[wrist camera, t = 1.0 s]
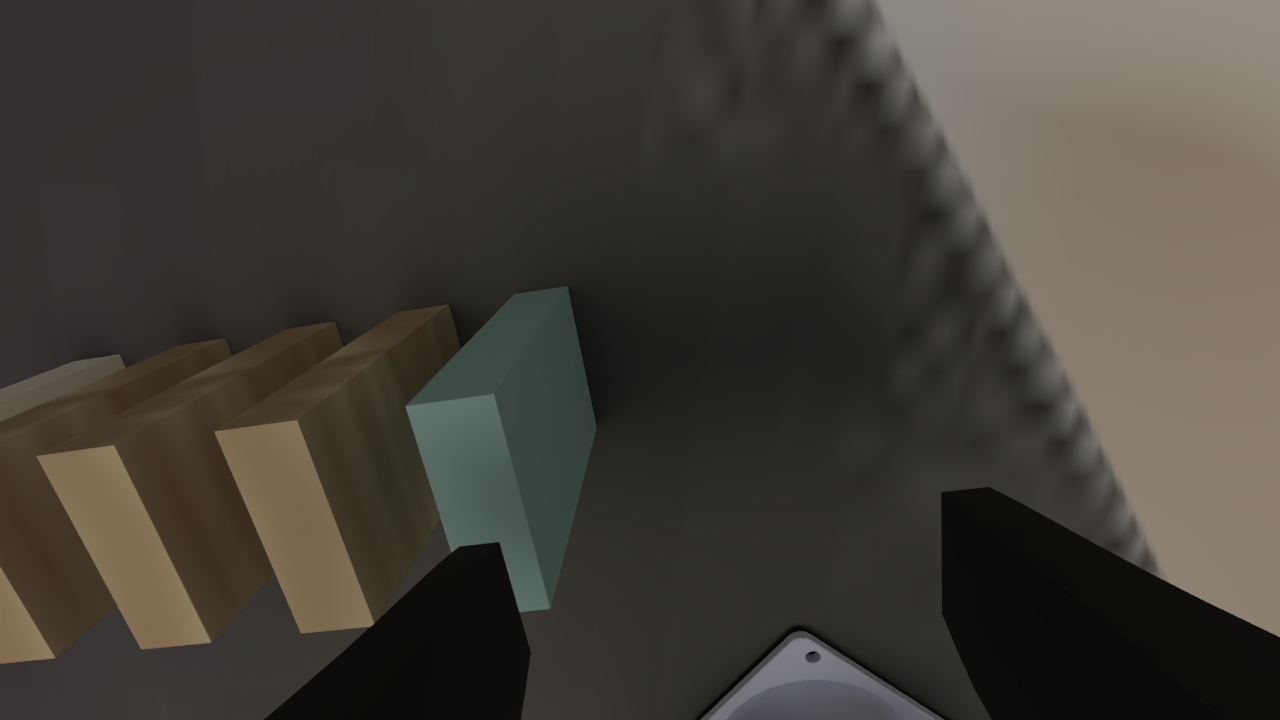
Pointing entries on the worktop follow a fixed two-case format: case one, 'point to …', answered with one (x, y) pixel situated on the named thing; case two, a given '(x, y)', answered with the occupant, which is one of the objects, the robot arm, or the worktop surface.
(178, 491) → the domino
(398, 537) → the domino
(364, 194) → the worktop surface
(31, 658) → the domino
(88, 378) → the domino
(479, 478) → the domino
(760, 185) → the worktop surface
